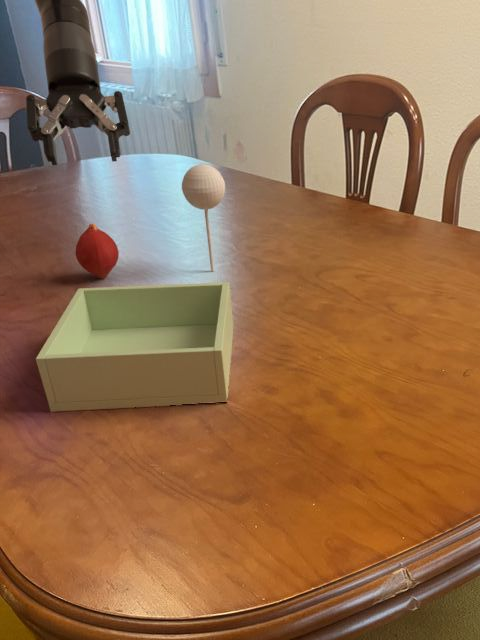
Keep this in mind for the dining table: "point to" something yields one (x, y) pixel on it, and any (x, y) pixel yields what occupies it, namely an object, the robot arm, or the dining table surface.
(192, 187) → the lollipop
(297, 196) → the dining table surface
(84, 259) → the red kuri squash
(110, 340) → the bin
